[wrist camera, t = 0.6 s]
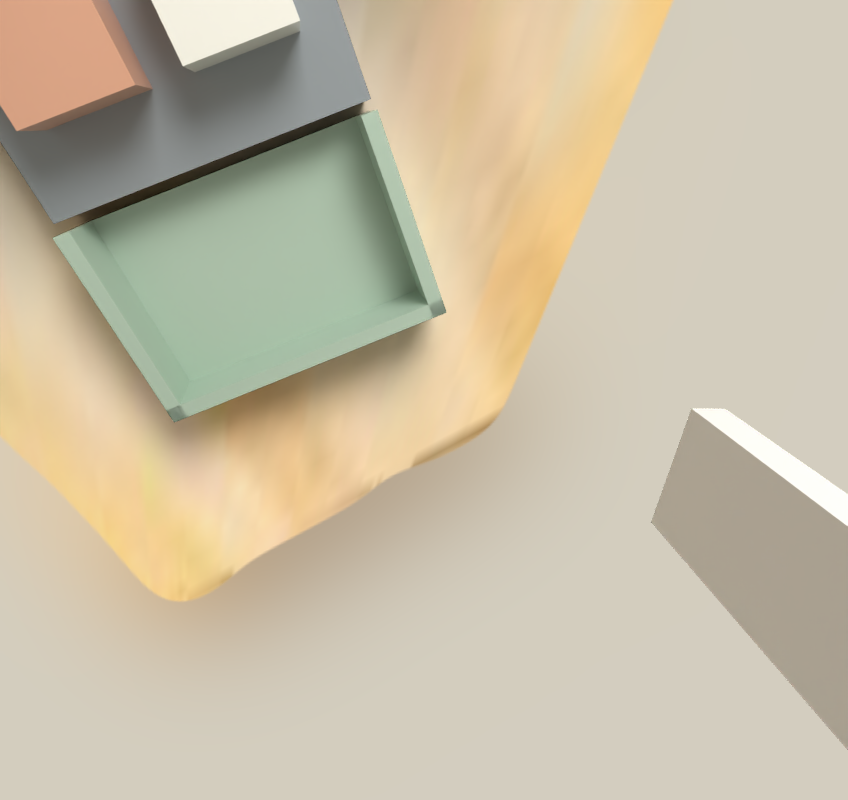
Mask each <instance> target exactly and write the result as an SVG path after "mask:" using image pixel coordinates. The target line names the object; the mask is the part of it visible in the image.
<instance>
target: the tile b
mask: <svg viewBox="0 0 848 800" xmlns="http://www.w3.org/2000/svg"><path fill="white" fill-rule="evenodd" d="M151 1H152V3H153V5H154V7H155V9H156V11H157V13H158V15H159V17H160V19H161V22H162V24H163V26H164V28H165V30H166V32H167V34H168V36H169V38H170V40H171V42H172V45H173V47H174V49H175V51H176V53H177V55H178V57H179V59H180V61H181V63H182V66H183V67H185V68H187V69H189V70H191V71H193V72H197V71H200V70H202V69H205V68H207V67H210V66H212V65H215V64H218V63H220V62H223V61H225V60H228V59H230V58H233V57H236V56H238V55H241V54H243V53H246V52H248V51H251V50H253V49H256V48H259V47H261V46H264V45H266V44H269V43H271V42H274V41H276V40H279V39H282V38H284V37H287V36H289V35H292V34H294V33H297V32H299V31H300V18H299V16H298V13H297V10H296V8H295V5H294V2H293V0H151Z"/></svg>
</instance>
